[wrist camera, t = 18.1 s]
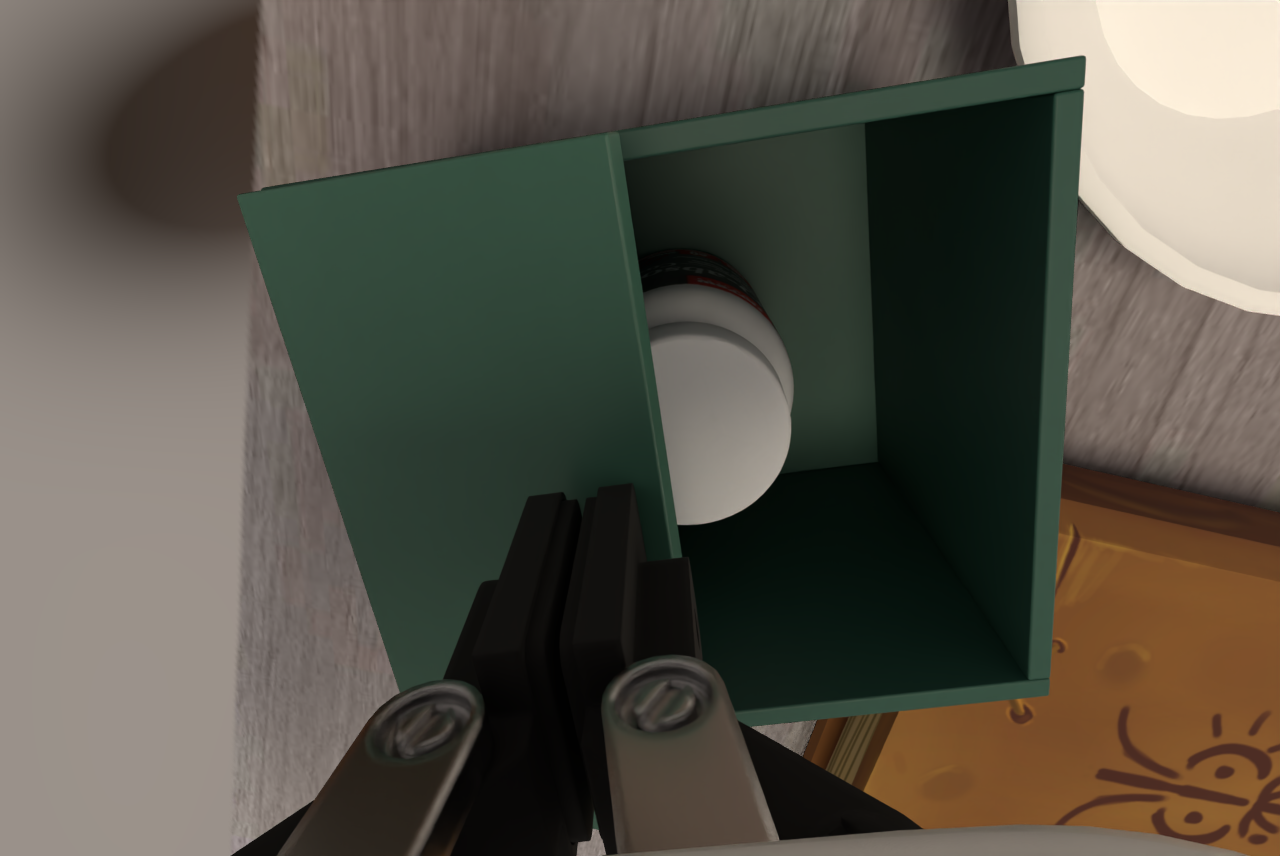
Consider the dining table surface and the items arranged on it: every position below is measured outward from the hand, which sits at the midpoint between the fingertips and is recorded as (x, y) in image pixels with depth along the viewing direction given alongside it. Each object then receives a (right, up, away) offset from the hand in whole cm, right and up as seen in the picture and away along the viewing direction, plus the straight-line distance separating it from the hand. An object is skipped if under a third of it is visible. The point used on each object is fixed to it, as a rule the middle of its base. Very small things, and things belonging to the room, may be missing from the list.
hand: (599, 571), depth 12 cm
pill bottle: (+2, +6, +14) cm, 15 cm away
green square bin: (+2, +6, +15) cm, 16 cm away
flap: (-2, 0, +2) cm, 2 cm away
